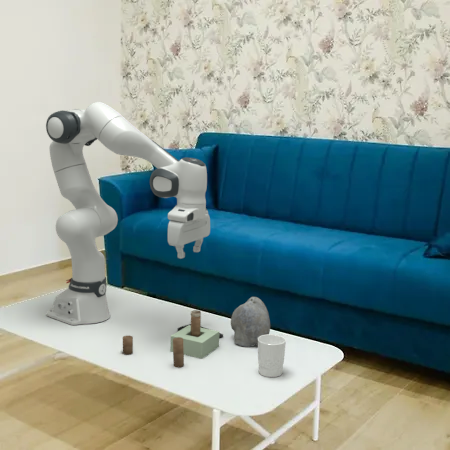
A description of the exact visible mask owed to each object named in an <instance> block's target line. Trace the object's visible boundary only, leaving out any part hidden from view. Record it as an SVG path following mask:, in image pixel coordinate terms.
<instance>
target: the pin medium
mask: <svg viewBox="0 0 450 450" xmlns="http://www.w3.org/2000/svg"><path fill="white" fill-rule="evenodd" d="M172 354H173V355H172V357H173V358H172V359H173V367H174V368H182V367H184V366H185V358H184V357H185V355H184V347H183V338H181V337H176V338H174V339H173V352H172Z"/></svg>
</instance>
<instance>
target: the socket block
mask: <svg viewBox="0 0 450 450" xmlns="http://www.w3.org/2000/svg"><path fill="white" fill-rule="evenodd" d="M187 325H188V326H186V327H185V328H183V329H181V330H180V331H177V332H175V333H173V334H171V335H170V352H172V353H173V339H174V338H176V337H181V338H183V347H184V356H187V357H188V356H189V357H194V358H197V359H204V358H205V357H206V356H207V355H209V354H210V353H212V352H214V351H215V350H216V349H218V348H219V347H220V339H219V333H220V331H219V330H215V329H209V328H207V327H205V328H201V327H200V336H199V337H194V336H191V325H189V324H187ZM206 328H207V329H206Z"/></svg>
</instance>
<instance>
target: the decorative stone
mask: <svg viewBox="0 0 450 450" xmlns="http://www.w3.org/2000/svg"><path fill="white" fill-rule="evenodd" d="M230 327H231V329H232V331H233V332H234V343H235V344H236V345H238V346H240V347H243V348H244V347H245V348H249V347H253V346H258V337H260V336H262V335H267V334H270V332H271V320H270V314H269V311H268V308H267V306H266V304H265V303H264V301H262V299H260V298H259V297H257V296H251V297H250V298H248V299H247V301H245V303H243V304H240V305H239V306H238V307H236V308H235V309H234V311H233V312H232V315H231V317H230Z"/></svg>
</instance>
